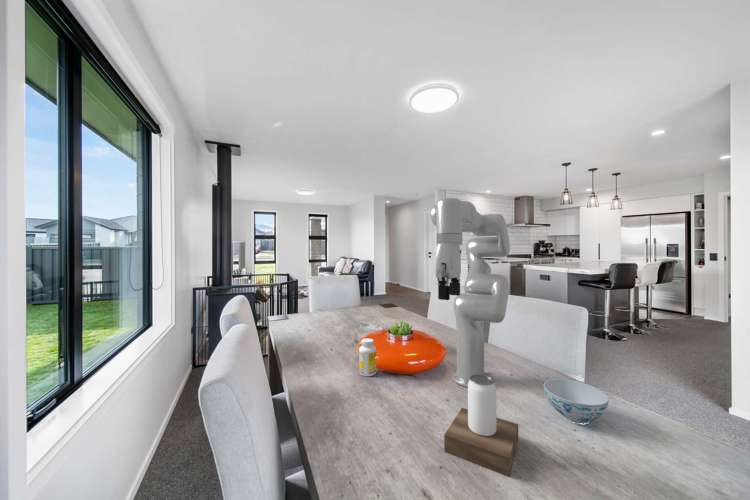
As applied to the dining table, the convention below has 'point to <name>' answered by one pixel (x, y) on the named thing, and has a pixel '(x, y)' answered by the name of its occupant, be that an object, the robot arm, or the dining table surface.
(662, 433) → the dining table surface
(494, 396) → the can
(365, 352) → the supplement bottle
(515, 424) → the base
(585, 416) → the chinaware
